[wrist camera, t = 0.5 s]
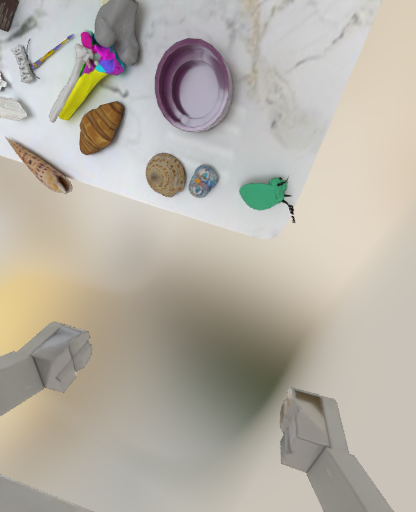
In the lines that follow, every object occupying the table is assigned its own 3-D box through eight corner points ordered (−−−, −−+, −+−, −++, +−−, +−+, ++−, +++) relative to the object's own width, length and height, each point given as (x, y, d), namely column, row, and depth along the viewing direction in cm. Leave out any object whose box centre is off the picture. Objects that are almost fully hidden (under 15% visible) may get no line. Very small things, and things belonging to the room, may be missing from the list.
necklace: (9, 46, 47) (27, 36, 45) (12, 47, 47) (30, 38, 46) (21, 85, 49) (39, 77, 47) (24, 86, 49) (42, 78, 47)
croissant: (111, 88, 47) (94, 83, 42) (135, 119, 48) (122, 117, 44) (75, 138, 53) (57, 139, 48) (98, 164, 54) (83, 167, 50)
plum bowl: (167, 45, 42) (155, 35, 37) (238, 51, 40) (234, 41, 35) (165, 127, 47) (154, 127, 43) (227, 135, 46) (223, 135, 41)
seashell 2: (175, 206, 52) (138, 190, 49) (175, 194, 56) (141, 180, 53) (192, 171, 48) (153, 152, 45) (190, 162, 52) (155, 144, 49)
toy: (291, 166, 42) (241, 166, 48) (281, 186, 41) (230, 184, 46) (300, 214, 52) (257, 210, 57) (292, 232, 50) (249, 226, 56)
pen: (27, 76, 49) (24, 75, 48) (24, 72, 49) (21, 71, 48) (76, 36, 44) (74, 35, 43) (74, 32, 44) (71, 30, 43)
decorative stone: (202, 157, 47) (217, 175, 46) (209, 165, 51) (224, 181, 50) (178, 181, 49) (193, 199, 47) (187, 187, 53) (201, 204, 51)
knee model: (76, 108, 54) (141, -5, 41) (90, 138, 53) (160, 34, 40) (29, 91, 47) (88, -54, 33) (44, 126, 46) (111, -8, 32)
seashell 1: (51, 198, 53) (70, 184, 54) (-3, 133, 53) (16, 120, 54) (62, 203, 58) (79, 190, 58) (11, 144, 57) (29, 131, 58)
